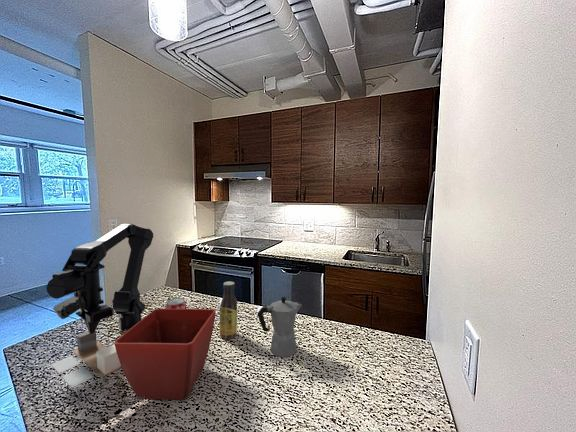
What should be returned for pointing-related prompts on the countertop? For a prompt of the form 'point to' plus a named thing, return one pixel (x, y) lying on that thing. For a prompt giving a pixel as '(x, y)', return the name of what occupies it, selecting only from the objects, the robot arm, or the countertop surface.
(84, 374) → the broken strip
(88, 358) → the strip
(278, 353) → the coffeepot
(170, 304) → the soda can
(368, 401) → the countertop surface
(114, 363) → the cube
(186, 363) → the plant pot
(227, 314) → the sauce bottle
